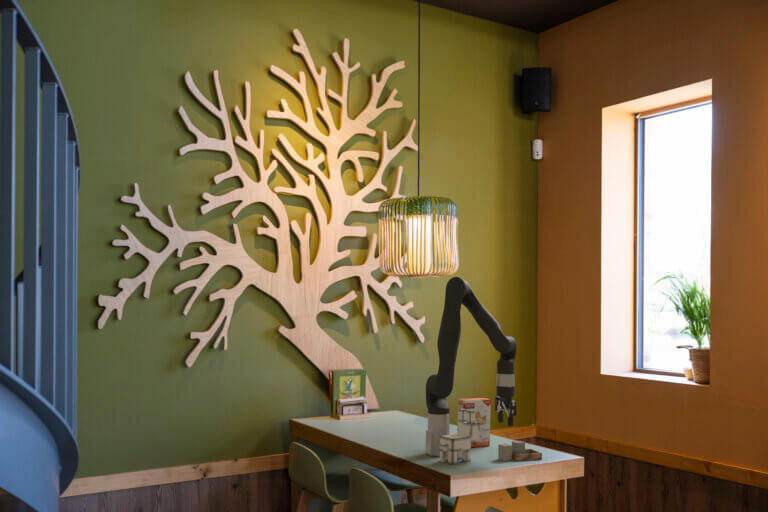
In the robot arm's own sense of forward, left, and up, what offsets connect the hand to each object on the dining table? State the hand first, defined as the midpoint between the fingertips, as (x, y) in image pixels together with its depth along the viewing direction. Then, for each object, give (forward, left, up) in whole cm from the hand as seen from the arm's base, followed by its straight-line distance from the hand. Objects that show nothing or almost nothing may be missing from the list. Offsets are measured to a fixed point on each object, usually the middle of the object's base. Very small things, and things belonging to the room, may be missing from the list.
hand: (505, 424), depth 301 cm
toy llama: (-20, +3, -15) cm, 25 cm away
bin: (+9, +1, -14) cm, 17 cm away
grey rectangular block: (+6, +1, -14) cm, 15 cm away
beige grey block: (0, 0, -14) cm, 14 cm away
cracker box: (-1, +28, -15) cm, 31 cm away
